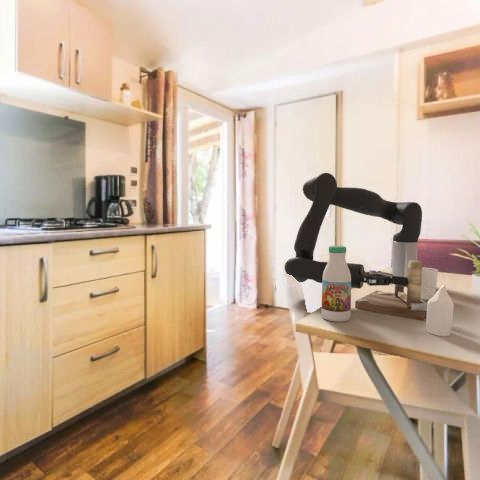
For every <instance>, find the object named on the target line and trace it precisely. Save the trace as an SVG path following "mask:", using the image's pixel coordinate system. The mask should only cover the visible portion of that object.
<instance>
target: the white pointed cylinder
mask: <svg viewBox="0 0 480 480" xmlns="http://www.w3.org/2000/svg"><path fill="white" fill-rule="evenodd" d="M453 317H454V301H453V299H452V298H451V296H450V295H449V294H448V289H447V285H445V284H443V285H442V286H441V287H440V288H439V289H438V290H436V292H435V295H434V296H433V297H432V298H431V299H430V300H429V301H428V304H427V318H426V321H425V332H426V333H427V334H431V335H433V336H434V335H435V336H438V337H448V336H451V334H452V328H453Z"/></svg>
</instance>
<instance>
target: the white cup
mask: <svg viewBox="0 0 480 480" xmlns="http://www.w3.org/2000/svg"><path fill="white" fill-rule="evenodd" d="M438 275H439V269H437V268H432V267H425V266H424V267H423V266H422V279H421V297H424V298H432V297H433V296H434V295H435V294H436V292H437V285H438V284H437V283H438Z"/></svg>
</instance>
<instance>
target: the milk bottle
mask: <svg viewBox="0 0 480 480" xmlns="http://www.w3.org/2000/svg"><path fill="white" fill-rule="evenodd" d="M328 255H329V257H328V260H327V262H328V263H327V265H326V267H325V269H324V272H323V279H322V283H321V310H320V311H321V318H323V319H324V320H327V321H329V322H335V323H337V322H339V323H342V322H348V321H349V320H350V319H351V310H352V309H351V306H352V288H351V274H350V270H349V268H348V266H347V263H348V262H347V260H346V256H347V246H343V245H330V246H329V247H328Z"/></svg>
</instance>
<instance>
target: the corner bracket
mask: <svg viewBox="0 0 480 480" xmlns="http://www.w3.org/2000/svg"><path fill="white" fill-rule="evenodd" d="M411 310H412V311H427V303H426V302H424V301H423V300H420V303H411Z"/></svg>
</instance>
